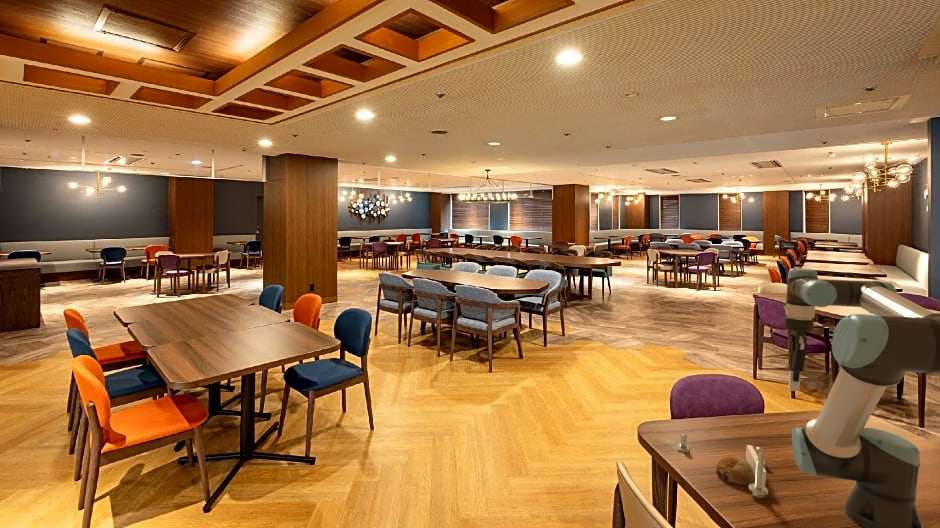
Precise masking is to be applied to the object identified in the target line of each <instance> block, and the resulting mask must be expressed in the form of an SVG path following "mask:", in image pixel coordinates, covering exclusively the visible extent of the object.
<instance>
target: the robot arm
mask: <svg viewBox="0 0 940 528" xmlns="http://www.w3.org/2000/svg"><path fill="white" fill-rule="evenodd" d="M786 281H787V283H786V296H785V297H786V298H785V300H786V301H785V302H786V304H785V305H784V306H783V310H785V315H786V316H785V317H784V322H783V323H784V325H783V327H784V329H785V330H788V331H790V333H789V334H788V335H787V336H788V367H789V368H788V372H789V376H788V386H787V387H788V391H790V392H791V391H793V392H800V389H801V377H802V375H801V374H802V372H803V371H804V367H805V366H804V365H805V361H806V353H807V349H808V345H809V344H808V343H807V341H808V340H807V339H808V337H807V336H806V333H811V332H813V331H814V325H815V324H814V323H815V320H814V318H815V315H816V307H818V308H825V307H828V306H830V307H831V306H833V307H853V308H854V307H855V308H861V309H863V310H865V311H866V312H868V313H858V314H857V313H856V314H855V313H853V314H848V315H845V316H844V317H843V318H841V320H839V321H838V322H837V324H836V326H835V327H834V330H833V333H832V336H831V337H832V339H833V340H832V341H831V350H832V355H833V358H834V360H835V361H836V362H837V363H838V366H839V367H840V368H839V369H840V370H839V371H838V373H837V375H836V377H835V380H834V382H833V385H832V387H831V389H830V391H829V393H828V396H827V398H826V400H825V402H824V404H823V407H822V408H821V411H820V412H819V415H818V417H815V418H812V419H810V421H808V423H806V426H805V427H802V426H799V427H798V426H797V427H793V428H792V433H791V443H792V444H791V445H792V446H791V447H792V452H793V457H794V460H795V463H796V466H797V467H798V469H799V470H800V471H801V472H803V473H804V474H809V475H814V476H816V477H824V478H830V479H831V478H833V479H839V480H846V481H847V480H848V481H854V482H855V485H854V487H853V488H852V490H851V492H850V493H849V495H848V497H847V498H846V500H845V506H844V507H845V508H844V511H845V513H846V516H848V517H849V518H850V520H852V521H853V522H854V523H856V524H857V525H859V526H860V527H863V528H923V526H924V525H923V523H922V519H921V517H920V513H919V511H918V506H917V503H916V499H917V498H916V497H917V492H918V491H917V489H918V482H919V472H920V467H921V459H920V458H921V457H920V456H921V453H920V449H919V448H918V447H917V445H915V443H913V442H912V441H909V440H908V439H906V438H904V437H902V436H899V435H898V434H895V433H892V432H889V431H886V430H883V429H878V428H873V427H865V426H866V424H867V423H868V421H869V419H870V418H871V415H872V414H873V412H874V410H875V408H876V406H877V405H878V403H879V401H880V399H882V398H881V397H882V396H883V394H884V392H885V391H886V389H887V388H888V387H892V386H895V385H898V384H899V383H901V381H902V380H903V378H904V376H905V375H906V373H919V374H935V375H940V313H939V312H933V311H931V310H929V309H927V308H925V307H923V306H921V305H919V304H918V303H915V302H913V301H911V300H909V299H908V298H906V297H904V296H902V295H900V294H898V291H897V289H896V287H895V285H894V284H892V283H891V282H887V281H880V280H845V279H821V278H820V279H819V277H818V271H817V270H816V269H813V268H800V267H799V268H796V267H795V268H790V269H789V270H788V274H787V278H786Z"/></svg>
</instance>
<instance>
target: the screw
mask: <svg viewBox="0 0 940 528" xmlns="http://www.w3.org/2000/svg"><path fill="white" fill-rule="evenodd" d="M763 454H764V453H763ZM763 454H762V453H761V452H759V453H758V460H757V462H756V463H757V464H756V465H757V466H756V467H757V468H756V472H755V473H756V474H755V475H756V476H754V480H755V481H754V483H751V484H749V485H747V486H748V487H747V488H748V489H749V490H750V491H751V492H752V496H754V497H755V498H758V499H763V498H764V495H765V496H766V495H768V494H769V490H768V488H767V487H766V486H765V487H764V486H762V484H763V483H762V482H763V481H762V480H763V479H762V478H763V470H764V469H765V467H763V466H764V465H763V464H764V463H763V462H764V461H765V460H764V461H763V458H764V455H763ZM763 468H764V469H763ZM755 477H756V478H755Z"/></svg>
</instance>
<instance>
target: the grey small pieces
mask: <svg viewBox="0 0 940 528" xmlns="http://www.w3.org/2000/svg"><path fill="white" fill-rule="evenodd" d="M687 442H688V434H686V433H681V434H680V441H679V442H677V451H678V452H683V453H690V445H689V444H688V443H687ZM754 450H755V452H756V454H757V456H758V453H759V452H761V453H762V454H764V453H763V451H764V448H763V447H762V446H755V448H754ZM763 461H764V462H763V463H764V464H763V465H764V466H763V467H764V468H766V467H767V463H766V460H765V458H764V457H763Z"/></svg>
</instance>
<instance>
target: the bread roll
mask: <svg viewBox="0 0 940 528" xmlns="http://www.w3.org/2000/svg"><path fill="white" fill-rule="evenodd" d="M716 474H717V475H718V476H719V477H720V478H721V479H723V480H724V481H727V482H728V483H732V484H735V485H742V486H744V485H745V486H746V485H747V486H749V484H752V483H755V482H756V481H755V480H756V479H755V476H754V474H753V470H752V467H751V465H750V464H749V463H748V462H747V460H746V459H744V458H742V457H741V456H736V455H731V456H725V457H723V458H722V459H720V460H719V461H718V463H717V464H716Z"/></svg>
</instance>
